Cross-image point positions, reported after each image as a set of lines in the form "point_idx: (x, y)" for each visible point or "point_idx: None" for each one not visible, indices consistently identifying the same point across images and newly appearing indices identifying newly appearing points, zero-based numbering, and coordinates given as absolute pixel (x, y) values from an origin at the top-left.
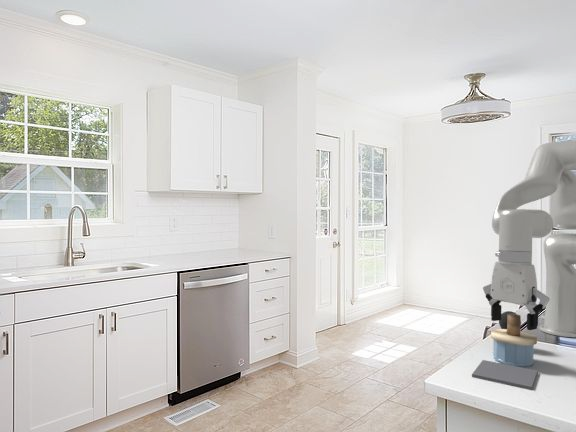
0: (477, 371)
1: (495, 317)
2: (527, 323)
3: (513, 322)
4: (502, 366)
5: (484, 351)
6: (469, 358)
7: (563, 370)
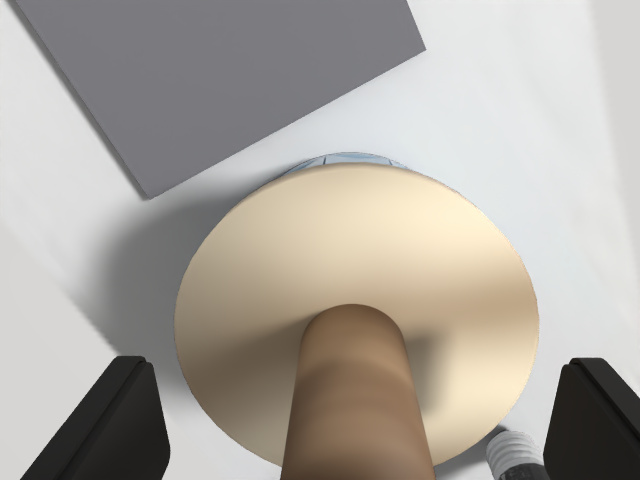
0: None
1: (578, 408)
2: (107, 400)
3: (317, 396)
4: (277, 61)
5: (544, 253)
6: (524, 29)
7: (146, 347)
